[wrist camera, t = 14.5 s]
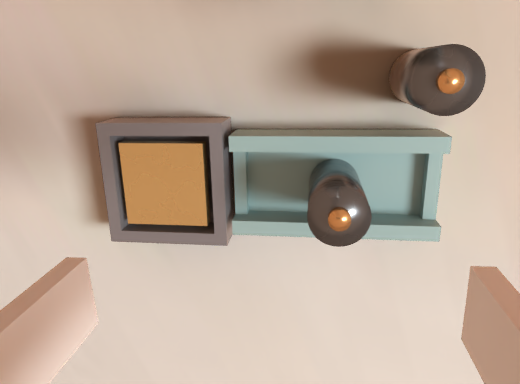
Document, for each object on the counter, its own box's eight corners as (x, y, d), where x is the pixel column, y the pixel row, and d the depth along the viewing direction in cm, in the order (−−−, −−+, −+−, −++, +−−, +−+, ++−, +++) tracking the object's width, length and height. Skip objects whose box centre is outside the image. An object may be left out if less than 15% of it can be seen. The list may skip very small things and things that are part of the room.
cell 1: (308, 159, 33) (306, 189, 25) (359, 158, 33) (374, 189, 24) (309, 205, 34) (307, 249, 26) (358, 206, 34) (371, 251, 26)
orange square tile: (124, 140, 33) (118, 143, 32) (205, 141, 32) (202, 143, 31) (133, 219, 35) (128, 223, 34) (210, 221, 34) (207, 226, 33)
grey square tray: (116, 117, 35) (95, 122, 32) (230, 117, 34) (221, 122, 31) (129, 225, 38) (111, 241, 35) (234, 229, 37) (227, 245, 34)
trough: (236, 129, 34) (228, 136, 31) (437, 129, 32) (451, 136, 29) (240, 219, 37) (232, 234, 33) (427, 224, 34) (439, 241, 31)
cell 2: (390, 49, 31) (418, 44, 23) (446, 48, 30) (495, 42, 22) (387, 103, 32) (411, 117, 24) (440, 103, 32) (484, 117, 23)
